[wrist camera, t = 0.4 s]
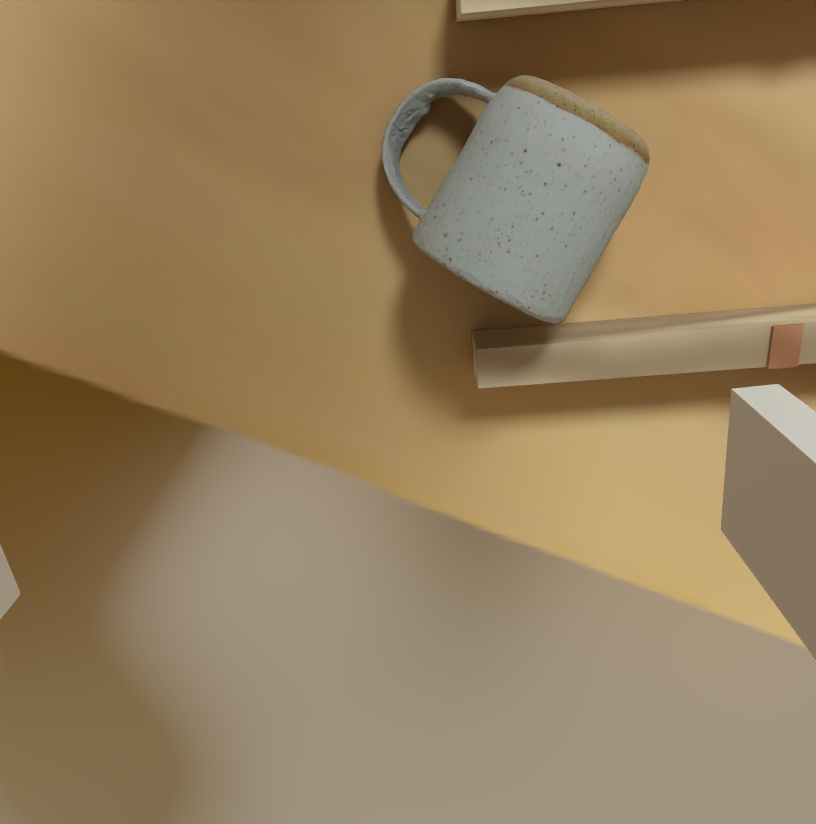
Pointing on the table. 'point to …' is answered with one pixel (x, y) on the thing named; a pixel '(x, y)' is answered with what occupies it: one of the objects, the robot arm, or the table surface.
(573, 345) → the beam channel
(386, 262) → the table surface
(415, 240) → the ceramic mug
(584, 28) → the table surface
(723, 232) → the table surface
